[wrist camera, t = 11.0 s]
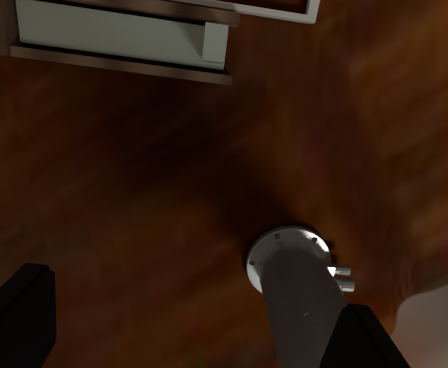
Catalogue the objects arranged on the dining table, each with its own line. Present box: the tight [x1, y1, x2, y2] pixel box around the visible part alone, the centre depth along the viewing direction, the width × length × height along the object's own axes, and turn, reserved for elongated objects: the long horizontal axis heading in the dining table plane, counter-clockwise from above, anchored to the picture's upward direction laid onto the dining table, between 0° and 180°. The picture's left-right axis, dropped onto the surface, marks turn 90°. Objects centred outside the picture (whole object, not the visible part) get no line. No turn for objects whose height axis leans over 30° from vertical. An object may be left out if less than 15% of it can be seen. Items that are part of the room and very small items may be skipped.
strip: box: [16, 0, 228, 70], centre depth 28 cm, size 22×4×7 cm, turn 83°
